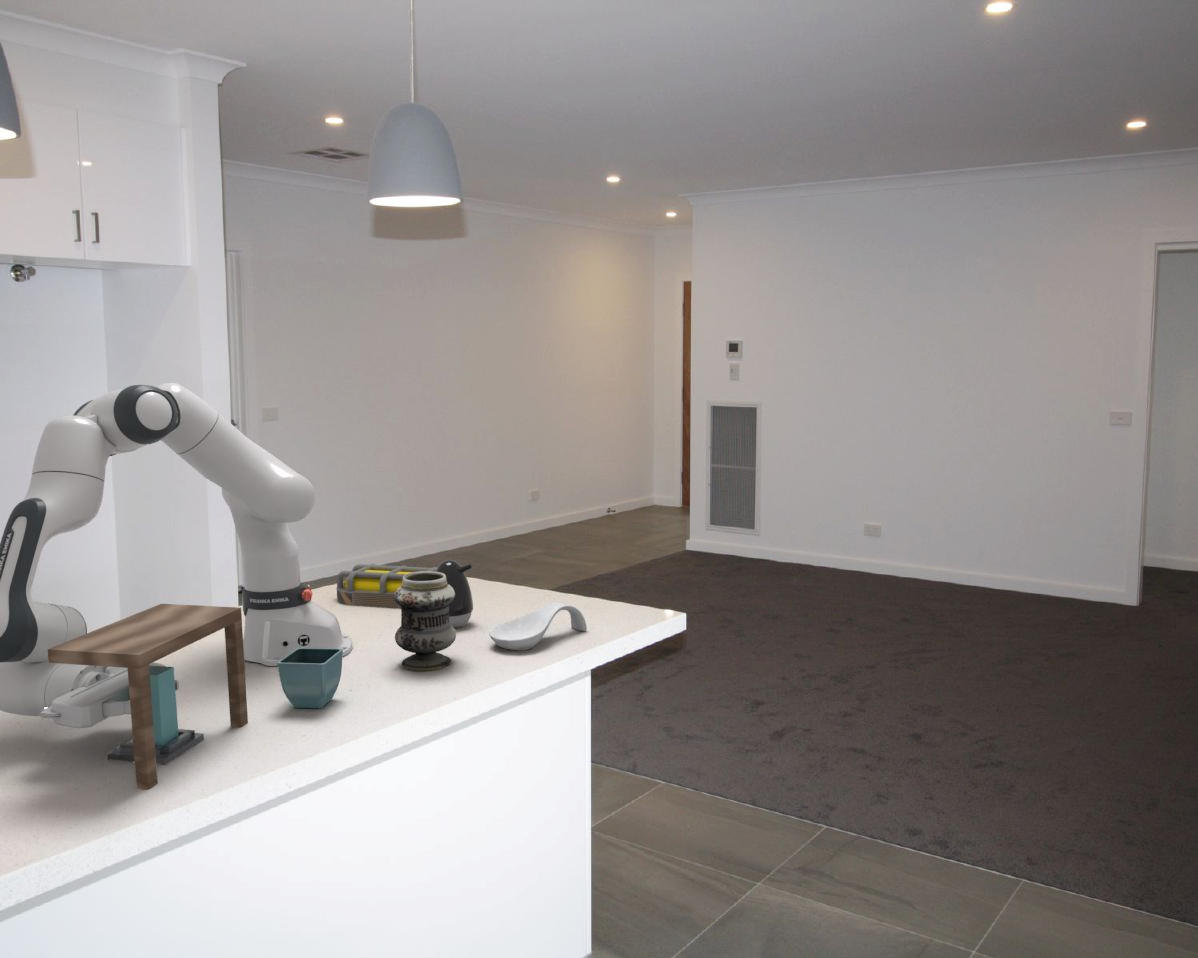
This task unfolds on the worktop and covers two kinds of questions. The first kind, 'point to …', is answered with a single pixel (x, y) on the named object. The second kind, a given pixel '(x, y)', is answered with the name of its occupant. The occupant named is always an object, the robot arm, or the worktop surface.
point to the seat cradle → (160, 748)
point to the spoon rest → (533, 627)
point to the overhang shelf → (147, 643)
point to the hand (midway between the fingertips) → (157, 696)
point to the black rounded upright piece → (458, 592)
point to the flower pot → (310, 676)
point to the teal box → (163, 704)
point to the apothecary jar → (425, 620)
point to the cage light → (373, 585)
